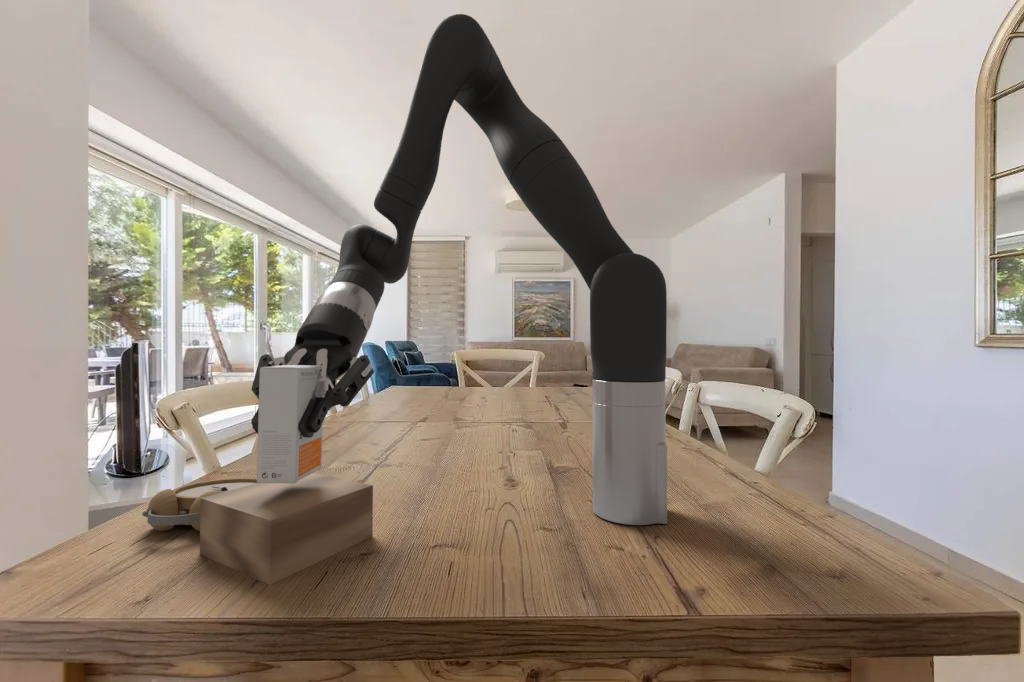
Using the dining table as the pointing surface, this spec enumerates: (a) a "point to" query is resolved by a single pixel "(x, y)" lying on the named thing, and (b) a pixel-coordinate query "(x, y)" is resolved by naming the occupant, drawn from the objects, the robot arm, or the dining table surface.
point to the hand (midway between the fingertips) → (282, 432)
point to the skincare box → (286, 424)
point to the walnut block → (284, 524)
